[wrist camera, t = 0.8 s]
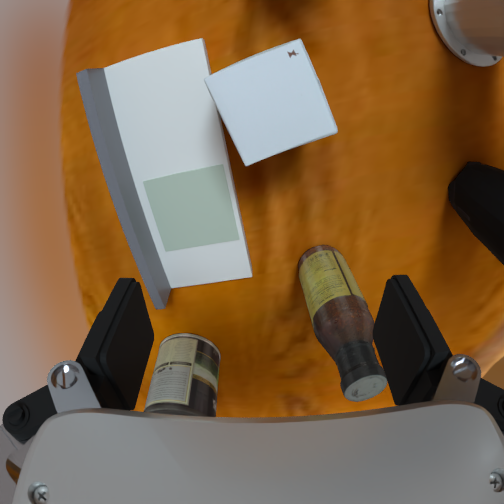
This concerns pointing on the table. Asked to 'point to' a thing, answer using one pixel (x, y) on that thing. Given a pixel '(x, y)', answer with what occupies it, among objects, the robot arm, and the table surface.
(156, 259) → the rail
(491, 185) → the portable speaker
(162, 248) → the shelf board
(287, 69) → the supplement box
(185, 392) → the coffee can
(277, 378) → the table surface
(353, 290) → the sauce bottle
